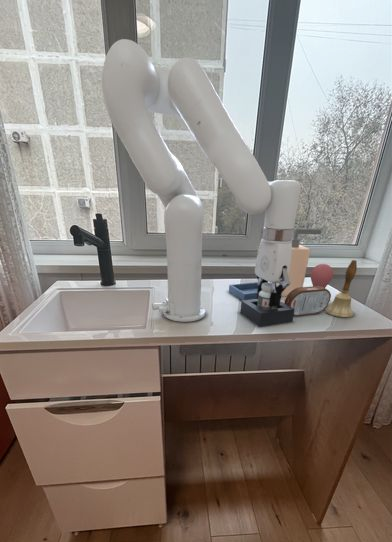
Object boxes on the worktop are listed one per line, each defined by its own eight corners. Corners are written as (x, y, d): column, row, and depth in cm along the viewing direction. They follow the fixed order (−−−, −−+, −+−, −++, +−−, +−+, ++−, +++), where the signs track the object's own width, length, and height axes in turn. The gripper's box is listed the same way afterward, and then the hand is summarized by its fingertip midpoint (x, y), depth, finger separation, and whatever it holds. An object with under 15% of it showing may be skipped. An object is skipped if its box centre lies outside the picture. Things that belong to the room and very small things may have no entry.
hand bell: (330, 306, 95) (343, 256, 87) (357, 312, 90) (373, 260, 82) (320, 312, 89) (333, 260, 82) (348, 320, 84) (365, 265, 77)
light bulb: (309, 294, 105) (316, 260, 100) (329, 298, 102) (338, 263, 96) (303, 299, 100) (310, 264, 94) (324, 303, 97) (333, 267, 91)
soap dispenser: (278, 295, 103) (289, 230, 92) (270, 288, 110) (280, 227, 100) (312, 295, 104) (327, 230, 93) (302, 288, 111) (315, 227, 101)
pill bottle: (274, 322, 82) (280, 288, 77) (254, 319, 83) (258, 286, 78) (275, 315, 87) (281, 282, 82) (256, 312, 88) (261, 280, 83)
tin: (321, 309, 91) (328, 284, 87) (328, 313, 89) (335, 286, 85) (281, 314, 87) (286, 287, 83) (287, 318, 84) (292, 291, 80)
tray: (243, 301, 97) (244, 294, 96) (228, 291, 106) (229, 284, 105) (279, 297, 102) (280, 290, 100) (261, 288, 111) (262, 281, 110)
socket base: (259, 327, 79) (261, 313, 77) (240, 312, 88) (241, 300, 86) (292, 322, 82) (294, 309, 80) (270, 308, 91) (272, 296, 89)
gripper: (248, 231, 80) (241, 294, 88) (285, 241, 66) (274, 314, 74) (270, 231, 82) (262, 292, 91) (312, 239, 68) (297, 311, 77)
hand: (267, 301), depth 83 cm, fingers closed on pill bottle, 5 cm apart
